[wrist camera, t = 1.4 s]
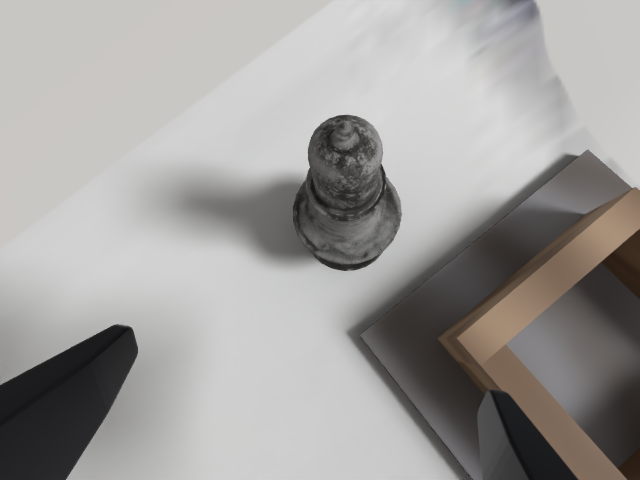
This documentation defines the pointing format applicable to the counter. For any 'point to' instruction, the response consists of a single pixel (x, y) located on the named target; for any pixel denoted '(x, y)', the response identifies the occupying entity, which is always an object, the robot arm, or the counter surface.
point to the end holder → (534, 326)
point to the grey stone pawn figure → (346, 196)
